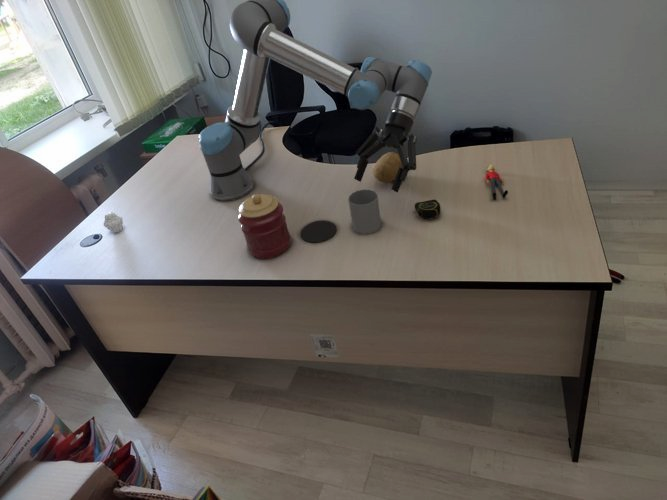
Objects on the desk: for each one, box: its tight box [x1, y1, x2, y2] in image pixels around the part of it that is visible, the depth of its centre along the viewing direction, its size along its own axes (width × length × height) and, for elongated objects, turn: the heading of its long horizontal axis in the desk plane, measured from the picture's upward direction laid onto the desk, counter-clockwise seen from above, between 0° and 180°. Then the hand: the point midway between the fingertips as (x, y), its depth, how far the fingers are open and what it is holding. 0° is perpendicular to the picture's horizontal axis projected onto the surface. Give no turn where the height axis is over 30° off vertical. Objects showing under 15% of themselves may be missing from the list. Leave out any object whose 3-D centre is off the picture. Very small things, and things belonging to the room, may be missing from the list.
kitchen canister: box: [237, 193, 292, 259], centre depth 136 cm, size 13×13×18 cm
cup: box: [347, 189, 382, 235], centre depth 138 cm, size 8×8×10 cm
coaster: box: [300, 220, 338, 244], centre depth 143 cm, size 11×11×1 cm
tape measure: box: [414, 199, 441, 220], centre depth 140 cm, size 7×7×4 cm
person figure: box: [485, 164, 509, 201], centre depth 147 cm, size 5×4×18 cm
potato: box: [371, 151, 403, 184], centre depth 159 cm, size 10×14×8 cm
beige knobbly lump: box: [103, 211, 124, 234], centre depth 160 cm, size 6×6×7 cm
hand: (375, 185), depth 138 cm, fingers open, 13 cm apart
